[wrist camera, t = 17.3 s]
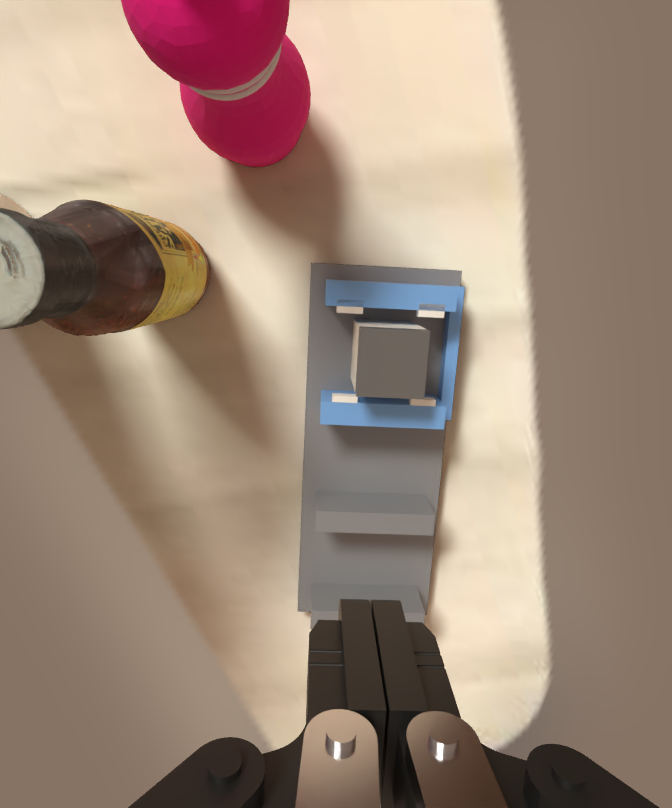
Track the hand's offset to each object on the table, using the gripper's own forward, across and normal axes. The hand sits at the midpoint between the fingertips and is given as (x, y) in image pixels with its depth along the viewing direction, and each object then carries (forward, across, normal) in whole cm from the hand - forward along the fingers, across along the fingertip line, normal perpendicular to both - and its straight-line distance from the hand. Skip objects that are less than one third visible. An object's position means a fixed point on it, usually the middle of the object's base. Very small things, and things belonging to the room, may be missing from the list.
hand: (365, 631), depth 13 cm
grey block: (+26, -3, -4) cm, 26 cm away
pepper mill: (+27, +6, -18) cm, 33 cm away
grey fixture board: (+27, -3, +4) cm, 27 cm away
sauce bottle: (+27, +12, -8) cm, 31 cm away
